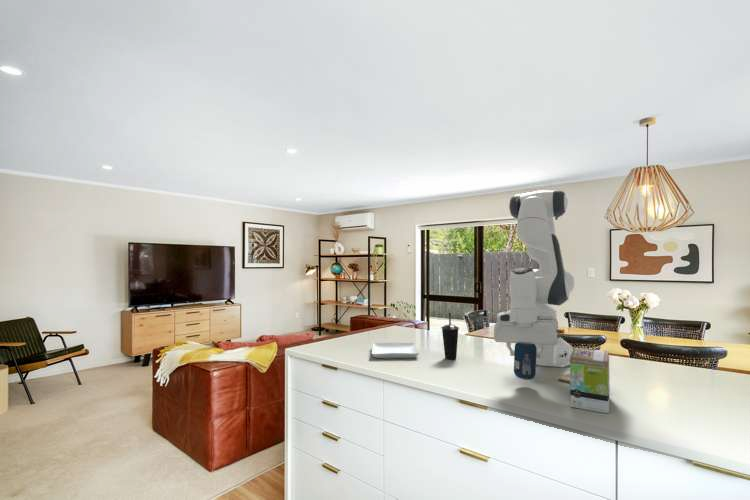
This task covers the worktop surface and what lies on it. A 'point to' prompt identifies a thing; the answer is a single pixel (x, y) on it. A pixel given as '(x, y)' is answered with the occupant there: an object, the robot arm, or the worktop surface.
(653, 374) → the worktop surface
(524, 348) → the soda can
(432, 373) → the worktop surface
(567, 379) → the walnut coaster
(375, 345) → the salad plate
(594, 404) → the tea box
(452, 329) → the drinking cup
